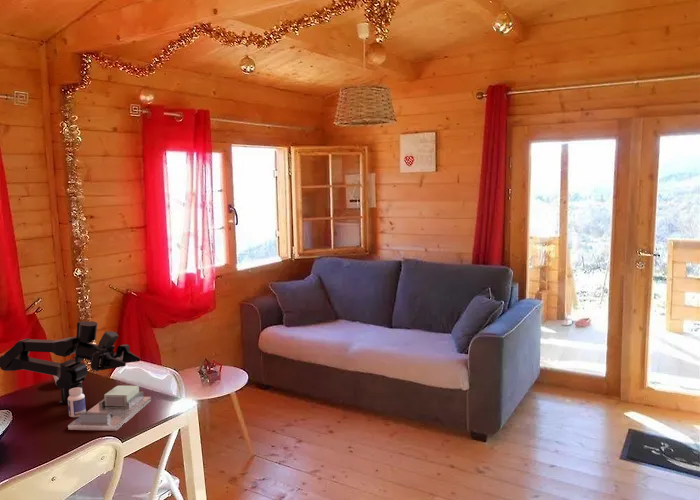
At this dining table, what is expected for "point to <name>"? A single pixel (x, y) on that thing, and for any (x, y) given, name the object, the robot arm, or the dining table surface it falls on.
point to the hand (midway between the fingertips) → (132, 362)
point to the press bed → (115, 420)
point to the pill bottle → (76, 402)
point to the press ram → (120, 395)
